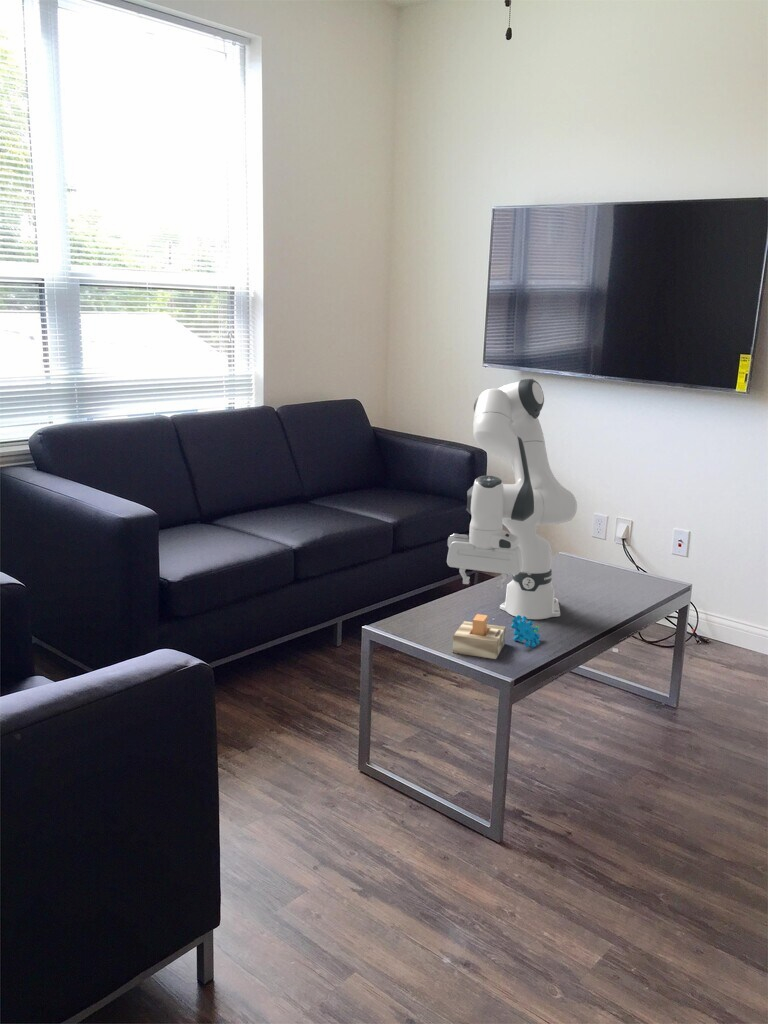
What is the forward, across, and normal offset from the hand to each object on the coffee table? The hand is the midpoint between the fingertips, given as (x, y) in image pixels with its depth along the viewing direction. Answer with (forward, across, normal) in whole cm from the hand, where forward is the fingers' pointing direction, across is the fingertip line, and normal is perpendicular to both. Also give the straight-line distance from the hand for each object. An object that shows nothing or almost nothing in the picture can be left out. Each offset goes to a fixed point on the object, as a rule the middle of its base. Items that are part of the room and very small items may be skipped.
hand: (482, 585), depth 236 cm
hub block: (+18, 0, -1) cm, 18 cm away
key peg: (+18, 0, -1) cm, 18 cm away
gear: (+18, +12, +8) cm, 23 cm away
